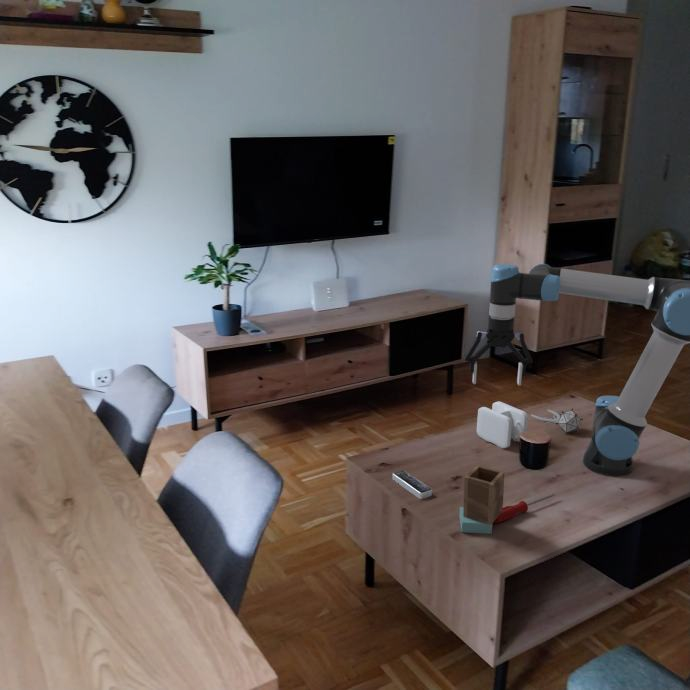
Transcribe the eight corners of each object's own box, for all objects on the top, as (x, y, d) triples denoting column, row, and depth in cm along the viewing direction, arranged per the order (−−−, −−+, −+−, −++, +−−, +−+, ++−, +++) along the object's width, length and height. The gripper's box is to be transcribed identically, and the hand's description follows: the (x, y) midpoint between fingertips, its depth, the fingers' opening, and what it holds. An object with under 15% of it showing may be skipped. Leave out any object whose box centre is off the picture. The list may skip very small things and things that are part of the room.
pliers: (549, 407, 271) (580, 420, 259) (548, 410, 271) (579, 424, 259) (530, 412, 266) (561, 426, 254) (530, 416, 266) (561, 430, 254)
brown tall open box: (475, 503, 199) (476, 464, 195) (502, 511, 194) (504, 472, 191) (463, 516, 192) (464, 477, 189) (491, 524, 188) (492, 484, 184)
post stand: (488, 517, 197) (490, 489, 195) (491, 533, 190) (494, 504, 187) (459, 516, 198) (461, 487, 195) (461, 532, 190) (463, 502, 188)
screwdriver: (559, 501, 206) (561, 491, 205) (496, 526, 193) (497, 515, 192) (550, 496, 209) (551, 486, 208) (487, 520, 196) (488, 509, 195)
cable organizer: (473, 436, 248) (476, 405, 245) (494, 428, 254) (497, 398, 251) (506, 451, 237) (509, 419, 233) (527, 443, 243) (530, 412, 239)
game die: (572, 442, 252) (588, 428, 245) (550, 434, 252) (566, 420, 244) (572, 422, 258) (587, 408, 251) (551, 414, 257) (565, 400, 250)
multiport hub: (420, 500, 207) (420, 493, 206) (391, 479, 218) (392, 473, 218) (432, 496, 209) (432, 489, 208) (403, 476, 221) (403, 469, 220)
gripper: (541, 314, 213) (535, 380, 220) (458, 312, 215) (454, 377, 222) (546, 321, 206) (540, 389, 213) (460, 318, 208) (456, 386, 215)
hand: (496, 383), depth 217 cm, fingers open, 13 cm apart
